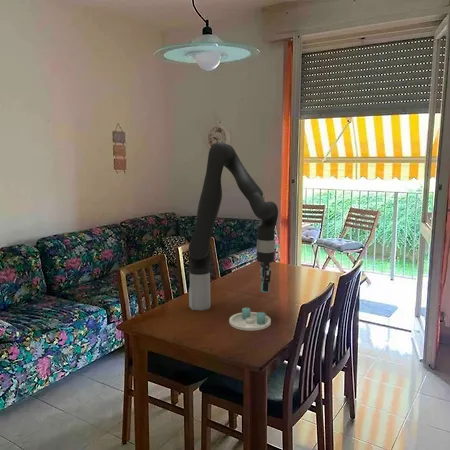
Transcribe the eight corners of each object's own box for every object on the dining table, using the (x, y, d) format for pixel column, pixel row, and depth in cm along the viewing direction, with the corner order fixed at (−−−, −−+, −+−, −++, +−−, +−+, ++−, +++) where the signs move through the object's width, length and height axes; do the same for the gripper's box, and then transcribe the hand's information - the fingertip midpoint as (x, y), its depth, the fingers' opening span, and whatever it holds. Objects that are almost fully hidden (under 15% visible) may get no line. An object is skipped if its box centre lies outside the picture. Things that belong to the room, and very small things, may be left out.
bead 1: (243, 320, 178) (243, 311, 177) (240, 317, 181) (240, 308, 181) (251, 319, 179) (251, 310, 178) (248, 316, 182) (248, 307, 182)
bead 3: (265, 293, 178) (266, 283, 177) (259, 291, 180) (259, 282, 179) (270, 291, 180) (270, 282, 180) (263, 289, 183) (264, 280, 182)
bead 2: (260, 325, 173) (260, 315, 172) (255, 322, 176) (255, 313, 175) (267, 323, 175) (267, 314, 174) (261, 320, 177) (261, 311, 177)
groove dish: (237, 334, 166) (237, 329, 165) (224, 318, 182) (224, 313, 181) (277, 329, 171) (277, 323, 170) (261, 314, 187) (261, 309, 186)
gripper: (278, 253, 170) (276, 295, 173) (271, 246, 184) (270, 284, 187) (259, 254, 170) (258, 295, 173) (254, 246, 184) (253, 284, 187)
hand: (264, 289), depth 180 cm, fingers closed on bead 3, 3 cm apart
